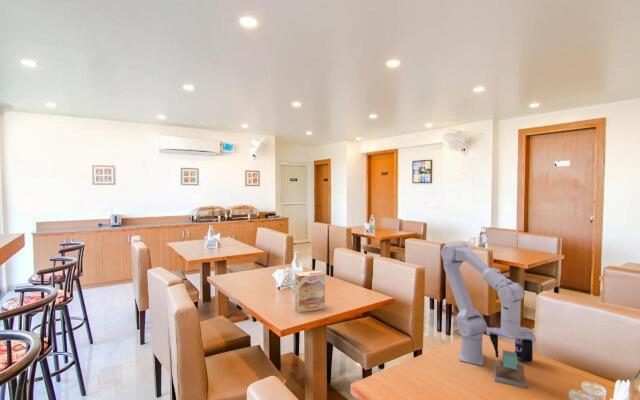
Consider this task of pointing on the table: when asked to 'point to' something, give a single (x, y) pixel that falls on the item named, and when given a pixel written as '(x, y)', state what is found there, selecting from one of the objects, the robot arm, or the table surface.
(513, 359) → the cube
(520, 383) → the plate
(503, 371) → the walnut brick
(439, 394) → the table surface
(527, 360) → the beverage can
